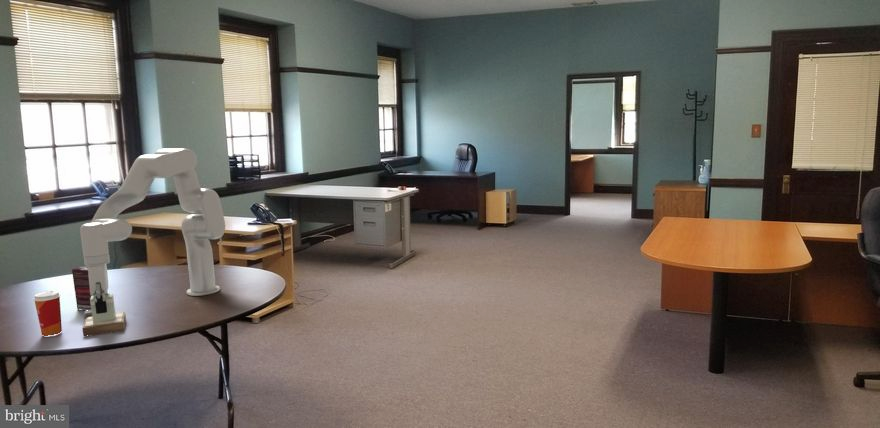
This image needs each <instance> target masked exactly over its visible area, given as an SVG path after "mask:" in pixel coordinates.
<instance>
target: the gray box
mask: <svg viewBox="0 0 880 428" xmlns="http://www.w3.org/2000/svg"><path fill="white" fill-rule="evenodd" d="M83 312H84V321H85V320H86V318H87V317H92V310H88V311H83Z"/></svg>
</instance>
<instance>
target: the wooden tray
mask: <svg viewBox="0 0 880 428" xmlns="http://www.w3.org/2000/svg"><path fill="white" fill-rule="evenodd" d="M115 314H116V317H115V319H114V320H107V321H100V322H94V323H93V318H92V317H87V318H86V320H85V319H84V322H83V325H82V327H81V328H82V335H83V336H86V337H91V336H90V335H92V336H98V334H99V335H104V334H111V332H112V333H118V331H119V332H123V331H125V329H126V328H125V327H126V322H127V317H126V315H127V314H126V312H125V311H124V312H123V311H122V312H115ZM87 335H88V336H87Z"/></svg>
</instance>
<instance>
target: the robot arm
mask: <svg viewBox="0 0 880 428" xmlns="http://www.w3.org/2000/svg"><path fill="white" fill-rule="evenodd" d="M197 164H198V156H197V154H196V153H195V151H193V150H191V149H190V148H184V147H182V148H178V147H177V148H171V147H170V148H169V147H168V148H160V149H158V150H155V152H154V154H142V155H139V156H138V157H137V158H136V159H135V160H134V162H133V163H132V165H131V167H130V169H129V171H128V173H127V175H126V177H125V179H124V181H123V182H122V184H121V186H120V187H119V188H118V189H117V190H116V191H115V192H114V193H113V194H111V195H110V196H109V197H108V198H107V199H105V200H104V201H103V202H102V203H101V205H99V207H98V209H97V210H96V212H95V214H94V216H93V218H92V219H91V222H87V223H83V224H82V225H81V226H80V227H79V234H80V240H81V246H82V247H81V248H82V254H83V255H82V257H83V265H84V267H88V276H89V286H90V295H91V296H93V294H94V293H95V307H96V313H97V314H100V313H106V312H107V305H106V301H105V294H109V293H108V291H109V276H108V273H109V272H108V268H107V265H108V264H110V263H111V261H110V260H111V259H110V258H111V257H110V254H109V253H110V251H109V242H120V241H121V242H122V241H125V240H127V239H128V238H129V237H130V236H131V235H132V232H133V227H132V224H131V223H130V222H129V221H128V220H127V219H124V218H123V219H122V218H117V217H118V215H120V214H121V213H122V212H123V211H125V210H126V209H128V208H130V207H133V206H135V205H137V204H139V203H140V202H143V201H144V199H145V198H146V197H147V194H148V193H149V190H150V188H151V187H152V185H153V183H154V181H155V179H168V178H172V180H173V181H174V184H175V185H174V186H175V189H176V193H177V197H178V201H179V204H180V207H181V209H182V210H183V211H185V212H187V213H194V214H188V215H187V216H185V217H184V218H183V219H182V221H181V226H180V227H181V232H182V235H183V239H184V243H185V249H186V258H187V270H188V276H189V288H188V289H187V290H186V294H187V295H188V296H192V297H194V296H195V297H199V296H202V297H203V296H207V295H212V294H215V293H218V292H219V291H220V290H221V287H220V286H219V285H216V277H215V267H214V257H213V255H214V254H213V248H212V244H211V241H210V240H218V239H220V238H222V237H223V236H224V234H225V232H226V220H225V216H224V211H223V207H222V202H221V199H220V196H219V194H218V193H217V192H216V191H215V190H214V189H212V188H207V187H206V188H203V187H201V185H200V182H199V179H198V174H197V172H196V170H195V168H196V166H197ZM200 213H201V214H200ZM102 296H103V298H102Z"/></svg>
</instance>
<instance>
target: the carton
mask: <svg viewBox="0 0 880 428" xmlns="http://www.w3.org/2000/svg"><path fill="white" fill-rule="evenodd" d="M102 298H103V296H102ZM105 301H106V305H107V312H106V313H100V314H97V313H96V307H95V296H91V298H90V304H91V310H92V318H93V323H94V322H100V321H107V320H114V319H115V317H116V314H115V313H116V308H115V299H114V293H113V292H112V293H111V292H110V293H108V294H105Z"/></svg>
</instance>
